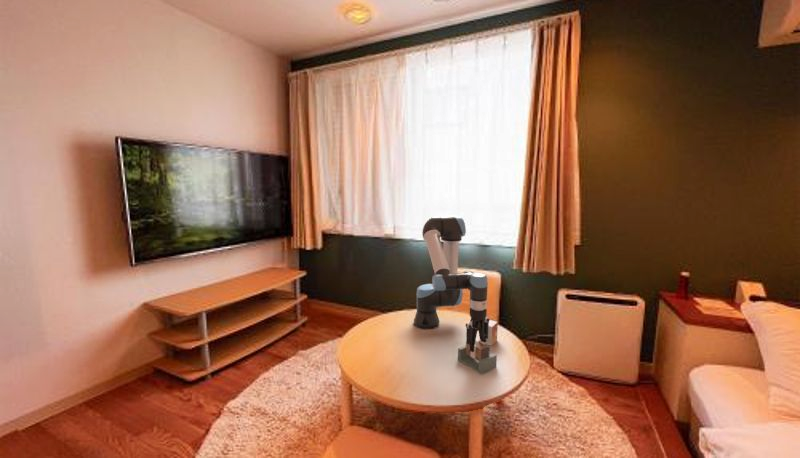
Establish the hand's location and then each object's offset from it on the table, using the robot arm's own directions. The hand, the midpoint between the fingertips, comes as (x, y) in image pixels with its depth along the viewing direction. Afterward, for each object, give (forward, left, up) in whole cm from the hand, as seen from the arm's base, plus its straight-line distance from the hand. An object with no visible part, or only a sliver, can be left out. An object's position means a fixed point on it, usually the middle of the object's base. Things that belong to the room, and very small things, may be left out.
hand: (477, 355), depth 152 cm
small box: (-11, +21, -4) cm, 24 cm away
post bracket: (0, 0, -4) cm, 4 cm away
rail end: (0, 0, 0) cm, 0 cm away
